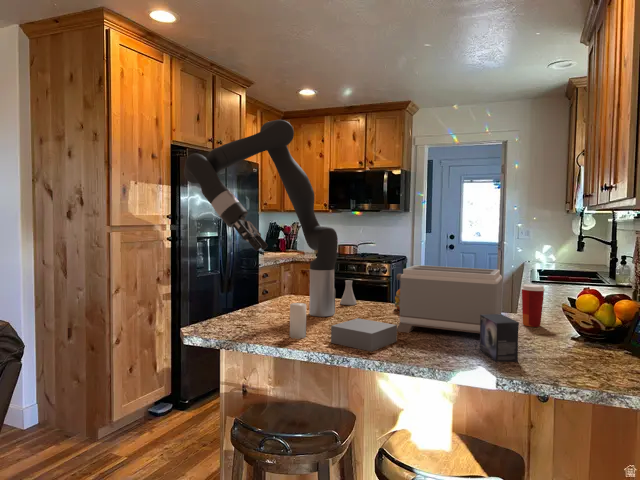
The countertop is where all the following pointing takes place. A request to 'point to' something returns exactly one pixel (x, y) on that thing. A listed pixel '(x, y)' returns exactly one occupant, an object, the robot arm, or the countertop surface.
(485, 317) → the small box
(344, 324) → the plinth
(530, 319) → the paper cup
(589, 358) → the countertop surface
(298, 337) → the beige piece
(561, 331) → the countertop surface
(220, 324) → the countertop surface
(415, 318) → the toaster
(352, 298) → the flask
